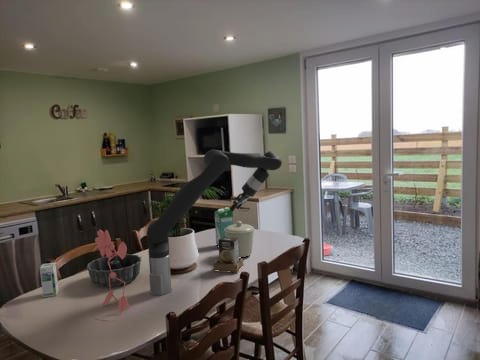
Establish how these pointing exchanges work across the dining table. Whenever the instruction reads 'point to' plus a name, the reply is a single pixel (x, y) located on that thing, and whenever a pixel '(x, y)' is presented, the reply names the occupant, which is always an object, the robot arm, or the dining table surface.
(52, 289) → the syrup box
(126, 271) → the bundt pan
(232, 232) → the canister
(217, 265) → the walnut crate
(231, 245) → the coffee box
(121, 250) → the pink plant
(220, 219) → the milk carton
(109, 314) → the dining table surface
